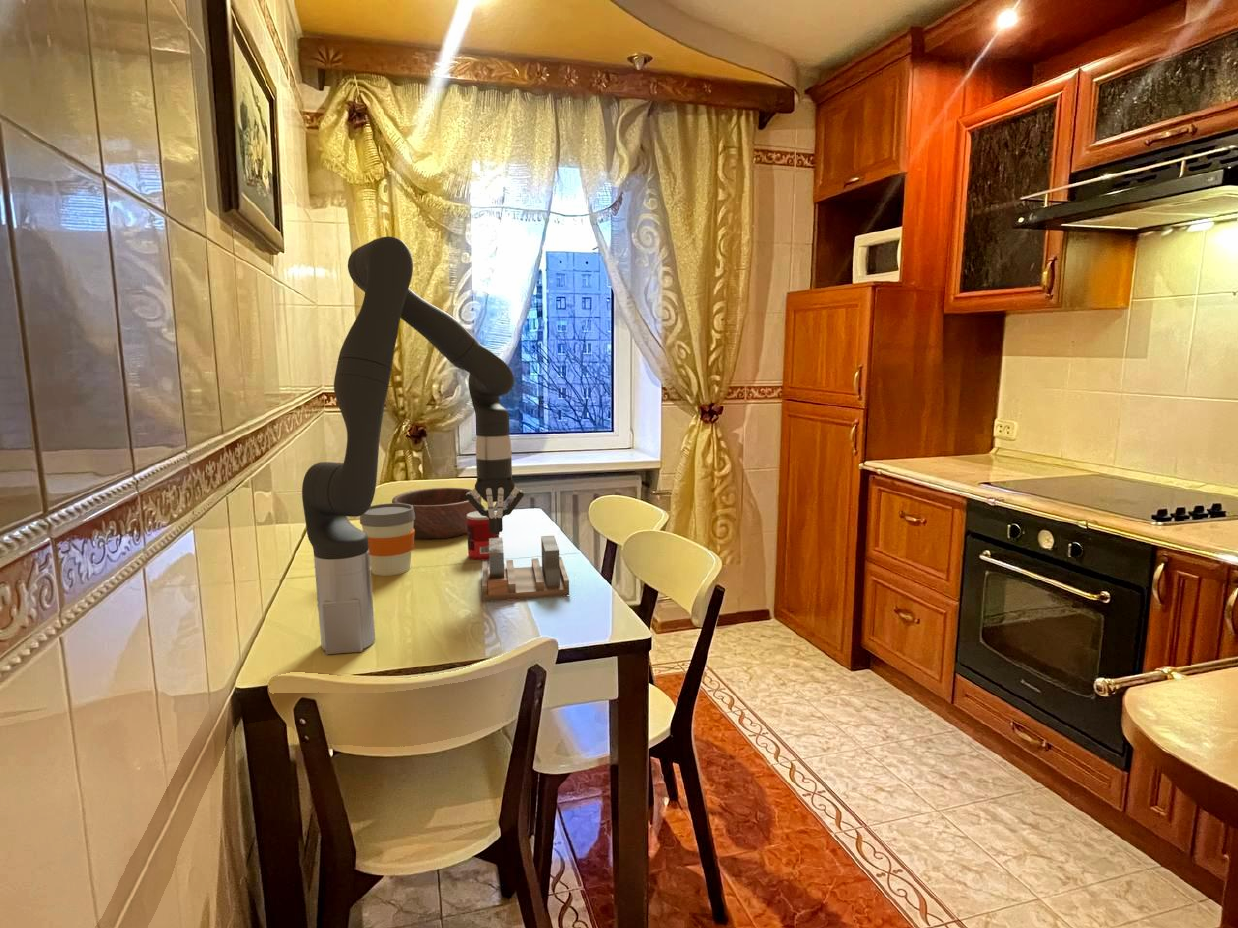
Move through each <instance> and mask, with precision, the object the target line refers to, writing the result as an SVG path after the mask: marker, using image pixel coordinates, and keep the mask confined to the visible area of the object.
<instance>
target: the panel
mask: <svg viewBox="0 0 1238 928" xmlns="http://www.w3.org/2000/svg"><path fill="white" fill-rule="evenodd" d="M503 539H504V538H503V537H499V538H489V559H488V560H489V570H490V579H505V578H504V569H505V557H504V540H503Z"/></svg>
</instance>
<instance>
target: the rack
mask: <svg viewBox="0 0 1238 928" xmlns="http://www.w3.org/2000/svg"><path fill="white" fill-rule="evenodd" d="M540 537H541V538H540V539H541V541H540V542H541V548H540V549H541V566H540V560H539V558H531V566H525V567H514V559H506V561H505V562H506V566H505V567H506V568H504V578H505V579H490V569H488V561H482V577H481V578H482V579H481V584H482V586H481V587H482V588H481V589H482V590H481V591H482V603H487V602H500V601H501V602H502V601H514V600H527V599H529V600H530V599H543V598H544V597H545V598H555V597H557V598H558V596H559V597H568V596H567V595H569V596H570V579H569V576H568V573H567V571H566V568H565V565H564V561H563V559H562V557H561V556H560V549H559V546H558V542H557V539H556V537H555V535H541V536H540Z"/></svg>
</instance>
